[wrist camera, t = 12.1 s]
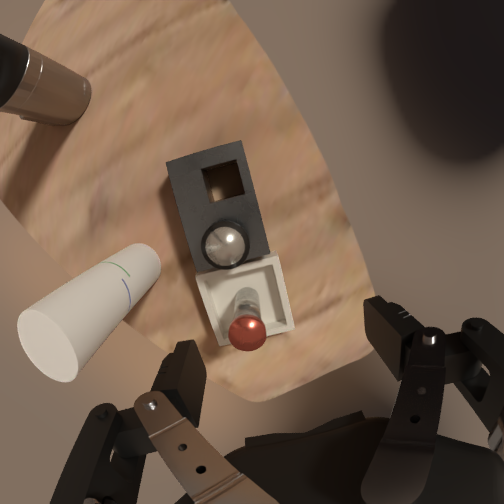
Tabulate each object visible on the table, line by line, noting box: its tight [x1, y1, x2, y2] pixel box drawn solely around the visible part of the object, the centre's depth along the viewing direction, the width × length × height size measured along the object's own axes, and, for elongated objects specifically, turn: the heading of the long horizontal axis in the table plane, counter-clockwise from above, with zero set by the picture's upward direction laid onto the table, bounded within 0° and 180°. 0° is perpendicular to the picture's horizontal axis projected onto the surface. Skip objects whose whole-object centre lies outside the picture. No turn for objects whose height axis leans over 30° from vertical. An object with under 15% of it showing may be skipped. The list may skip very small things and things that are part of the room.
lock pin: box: [228, 287, 267, 351], centre depth 37 cm, size 4×4×11 cm
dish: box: [195, 250, 295, 346], centre depth 41 cm, size 12×12×3 cm
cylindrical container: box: [17, 243, 161, 382], centre depth 29 cm, size 7×7×25 cm
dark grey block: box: [166, 140, 270, 272], centre depth 35 cm, size 10×15×8 cm, turn 14°
